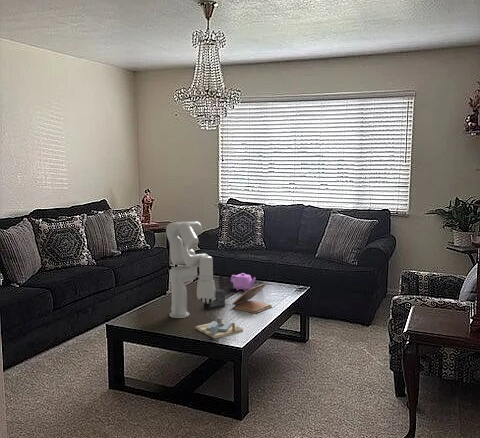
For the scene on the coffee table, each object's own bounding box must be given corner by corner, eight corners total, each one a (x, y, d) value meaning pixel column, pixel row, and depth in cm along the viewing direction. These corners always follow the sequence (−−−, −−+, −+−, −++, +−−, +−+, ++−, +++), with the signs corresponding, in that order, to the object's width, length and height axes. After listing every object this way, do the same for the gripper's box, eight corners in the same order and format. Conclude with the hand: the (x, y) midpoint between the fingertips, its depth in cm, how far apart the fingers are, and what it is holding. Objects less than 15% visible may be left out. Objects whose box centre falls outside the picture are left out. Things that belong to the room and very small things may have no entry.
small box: (222, 303, 354) (222, 288, 353) (225, 306, 348) (225, 291, 347) (207, 305, 351) (207, 290, 349) (210, 307, 345) (210, 292, 343)
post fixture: (195, 328, 303) (195, 317, 302) (223, 322, 314) (223, 311, 313) (214, 338, 287) (214, 326, 286) (243, 331, 298) (243, 319, 297)
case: (249, 301, 359) (249, 279, 357) (273, 307, 346) (273, 284, 344) (230, 308, 344) (230, 285, 342) (255, 314, 331) (255, 290, 329)
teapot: (228, 290, 389) (227, 273, 388) (234, 286, 401) (234, 270, 399) (252, 292, 382) (252, 276, 380) (258, 288, 393) (258, 272, 392)
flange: (212, 323, 307) (212, 315, 307) (231, 324, 305) (231, 317, 304) (202, 333, 289) (202, 326, 289) (223, 335, 286) (223, 327, 286)
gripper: (191, 278, 288) (191, 310, 290) (216, 280, 283) (216, 312, 285) (196, 275, 295) (197, 306, 297) (220, 277, 290) (221, 308, 292)
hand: (206, 309), depth 291 cm, fingers closed
